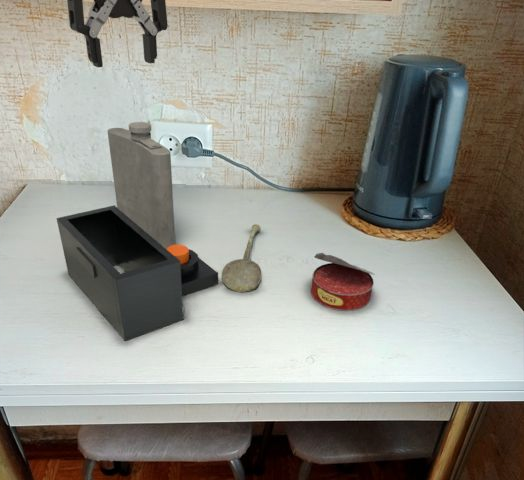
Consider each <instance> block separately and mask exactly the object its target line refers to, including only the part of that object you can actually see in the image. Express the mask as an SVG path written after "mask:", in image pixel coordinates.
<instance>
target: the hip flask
mask: <svg viewBox="0 0 524 480" xmlns="http://www.w3.org/2000/svg"><path fill="white" fill-rule="evenodd" d="M151 131H152V124H151V123H149V122H145V121H134V122H133V121H132V122H130V123H129V124H128V129H127V128H123V127H112V128H109V129H107V139H108V146H109V154H110V162H111V169H112V176H113V177H112V178H113V186H114V193H115V200H116V207H117V208H118V209H119V210H120V211H122V212H123V213H124V214H125V215H126V216H127V217H129V218H130V219H131V220H132V221H133V222H135V223H136V224H137V225H138V226H139V227H141V228H142V229H143V230H144V231H145V232H146V233H148V234H149V235H150V236H151V237H152V238H154V239H155V240H156V241H157V242H158V243H159V244H161V245H162V246H163V247H164V248H165V249H167V248H168V247H169V246H172V245H176V231H175V230H176V229H175V212H174V211H175V210H174V193H173V192H174V191H173V176H172V175H173V174H172V158H171V155H172V154H171V150H169V149H168V148H167V147H165V146H164V145H162V144H161V143H159V142H158V141H156V140H154V139H153V138H152V135H151V134H152V133H151Z"/></svg>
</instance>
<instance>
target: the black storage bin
mask: <svg viewBox="0 0 524 480" xmlns="http://www.w3.org/2000/svg"><path fill="white" fill-rule="evenodd" d="M56 222H57V228H58V232H59V237H60V243H61V247H62V251H63V256H64V260H65V264H66V270H67V274H68V276H69V277H70V278H71V280H72V281H73V282H74V283H75V285H77V287H78V288H79V290H81V291H82V292H83V294H84V295H85V296H86V297H87V298H88V299H89V301H90V302H91V303H92V305H94V307H95V308H96V309H97V310H98V311H99V312H100V313H101V315H102V316H103V317H104V319H106V321H107V322H108V323H109V324H110V326H111V327H113V329H114V330H115V331H116V332H117V334H118V335H119V336H120V338H121V339H122V340H123V341H124V342H126V341H129V340H132V339H135V338H137V337H141V336H143V335H145V334H148V333H152V332H154V331H157V330H159V329H162V328H164V327H168V326H170V325H173V324H175V323H179V322H181V321H184V309H183V307H184V306H183V296H182V285H181V266H180V260H178V259H177V258H176V257H175V256H174V255H173V254H171V253H170V252H169V251H168V250H167V249H165V248H164V247H163V246H162V245H161V244H159V243H158V242H157V241H156V240H155V239H154V238H152V237H151V236H150V235H149V234H148V233H146V232H145V231H144V230H143V229H142V228H141V227H139V226H138V225H137V224H136V223H135V222H133V221H132V220H131V219H130V218H129V217H127V216H126V215H125V214H124V213H123V212H122V211H120V210H119V209H118V208H117V205H110V206H106V207H101V208H96V209H92V210H87V211H82V212H77V213H74V214H69V215H65V216H59V217H56ZM115 266H119V267H120V268H121V269H122V270H123V271H124V272H120V271H119V270H118V269H116V267H115Z"/></svg>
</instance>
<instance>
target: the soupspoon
mask: <svg viewBox="0 0 524 480" xmlns="http://www.w3.org/2000/svg"><path fill="white" fill-rule="evenodd" d="M260 232H261V225H260V224H258V223H254V224H252V225H251V232H250V235H249V238H248V241H247V243H246V248H245V250H244V254H243V257H242V258H239V259H233V260H232V261H230V262H228V263H226V264H225V265H224V267H223V268H222V272H221V280H222V283H223V284H224V285H225V286H226V287H227V288H228V289H230V290H232V291H233V292H236V293H247V292H250V291H253V290H254V289H256V288H257V287H258V285H259V284H260V282H261V279H262V269H261V267H260V265H259V263H257V262H255V261H253V260H251V259H250V258H249V257H250V254H251V253H250V252H251V249H252V245H253V240H254V239H255V238H254V237H255V235H256V234H257V233H260Z"/></svg>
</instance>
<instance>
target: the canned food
mask: <svg viewBox="0 0 524 480" xmlns="http://www.w3.org/2000/svg"><path fill="white" fill-rule="evenodd" d="M313 258H315V259H317V260H320V261H324V262H327V263H325V264H322V265H320V266H318V267H316V268H315V269H314V271H313V273H312V279H311V287H310V294H311V296H312V298H313V299H314V301H316V302H317V303H318V304H320V306H323V307H325V308H328V309H331V310H336V311H345V312H350V311H357V310H360V309H363V308H364V307H366V306H367V305H368V304H369V302H370V300H371V296H372V292H373V287H374V283H375V282H374V281H375V280H374V278H373V276H375V275H376V274H375V273H374V272H373V271H370V270H368V269H365V268H362V267H360V266H357V265H354V264H352V263H349V262H347V261H346V260H343V259H342V258H339V257H338V256H334V255H331V254H326V253H324V252H318V253H316V254H315V255H314V256H313ZM372 275H373V276H372Z"/></svg>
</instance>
